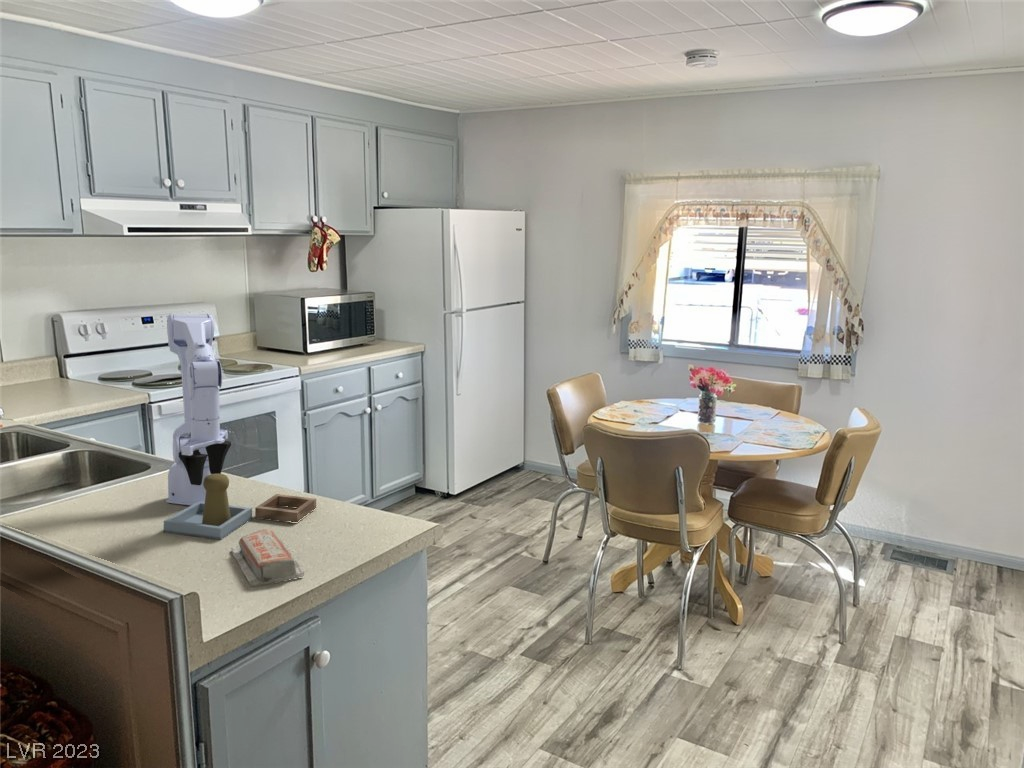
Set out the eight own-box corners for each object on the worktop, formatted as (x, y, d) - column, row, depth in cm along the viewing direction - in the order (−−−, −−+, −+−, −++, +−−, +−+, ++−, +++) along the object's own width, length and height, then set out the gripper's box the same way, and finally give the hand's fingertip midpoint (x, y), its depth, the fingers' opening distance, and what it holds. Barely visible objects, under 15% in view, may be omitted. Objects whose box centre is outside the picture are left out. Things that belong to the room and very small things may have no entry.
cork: (227, 529, 168) (226, 479, 166) (197, 528, 167) (197, 478, 165) (234, 519, 174) (234, 471, 172) (206, 518, 173) (205, 470, 171)
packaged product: (305, 556, 147) (251, 565, 142) (305, 580, 148) (251, 590, 143) (280, 523, 162) (230, 530, 157) (280, 545, 163) (230, 553, 158)
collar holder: (255, 518, 176) (255, 507, 176) (276, 504, 186) (276, 493, 185) (297, 523, 175) (297, 512, 174) (316, 508, 184) (316, 498, 184)
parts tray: (163, 532, 165) (163, 521, 165) (199, 511, 178) (198, 501, 178) (220, 539, 163) (220, 528, 163) (252, 518, 176) (252, 508, 175)
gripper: (203, 427, 159) (204, 491, 161) (240, 412, 173) (240, 471, 175) (171, 423, 160) (173, 487, 162) (210, 409, 174) (211, 468, 176)
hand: (206, 479), depth 169 cm, fingers open, 7 cm apart
